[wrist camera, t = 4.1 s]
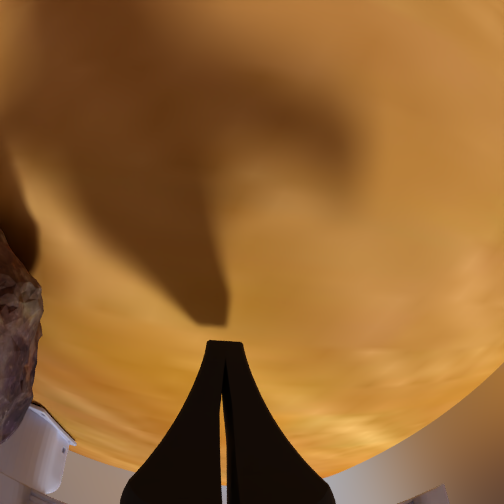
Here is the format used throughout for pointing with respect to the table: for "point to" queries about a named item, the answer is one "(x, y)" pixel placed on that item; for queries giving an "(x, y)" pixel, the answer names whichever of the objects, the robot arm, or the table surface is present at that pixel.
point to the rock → (17, 338)
